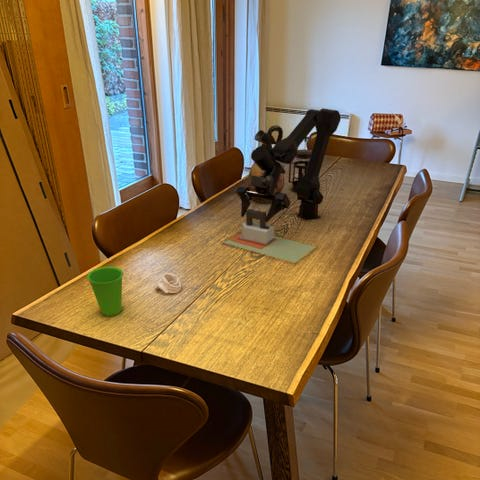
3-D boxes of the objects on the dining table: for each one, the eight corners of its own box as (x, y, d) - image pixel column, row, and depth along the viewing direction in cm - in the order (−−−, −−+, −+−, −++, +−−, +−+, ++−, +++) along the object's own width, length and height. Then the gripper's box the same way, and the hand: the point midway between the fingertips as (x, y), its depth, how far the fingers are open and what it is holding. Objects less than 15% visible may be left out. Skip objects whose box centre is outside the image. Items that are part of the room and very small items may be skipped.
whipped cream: (168, 283, 141) (166, 268, 139) (187, 286, 138) (185, 270, 136) (152, 293, 134) (150, 277, 132) (172, 297, 132) (170, 280, 129)
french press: (316, 188, 216) (321, 135, 203) (310, 194, 208) (314, 140, 196) (292, 185, 220) (295, 133, 207) (285, 191, 212) (288, 137, 200)
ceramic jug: (258, 207, 194) (260, 130, 178) (241, 197, 205) (241, 123, 189) (293, 201, 201) (298, 126, 184) (274, 191, 212) (277, 120, 196)
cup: (97, 303, 129) (90, 267, 123) (130, 301, 130) (125, 265, 124) (91, 321, 122) (83, 283, 116) (126, 319, 122) (121, 282, 116)
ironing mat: (223, 243, 163) (223, 241, 163) (247, 230, 174) (247, 228, 173) (294, 264, 150) (294, 262, 150) (316, 248, 160) (316, 246, 160)
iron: (273, 239, 165) (275, 211, 159) (265, 246, 160) (266, 217, 155) (246, 233, 169) (246, 206, 164) (237, 239, 165) (237, 211, 159)
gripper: (238, 161, 158) (221, 202, 156) (288, 169, 150) (271, 212, 148) (249, 179, 168) (233, 218, 166) (297, 187, 160) (281, 228, 158)
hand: (253, 219), depth 159 cm, fingers open, 9 cm apart
